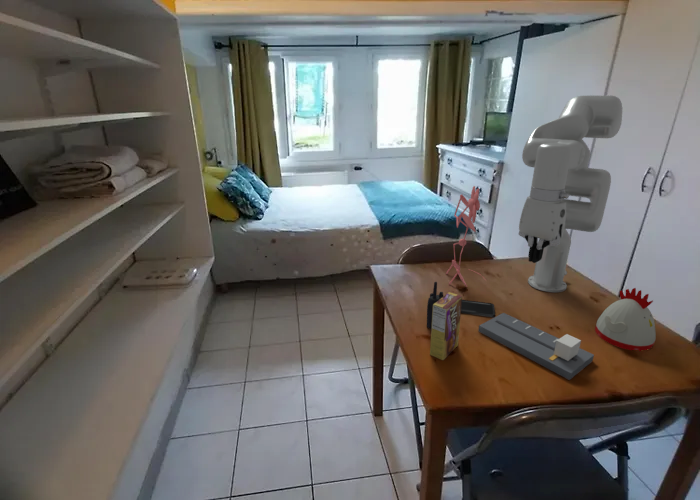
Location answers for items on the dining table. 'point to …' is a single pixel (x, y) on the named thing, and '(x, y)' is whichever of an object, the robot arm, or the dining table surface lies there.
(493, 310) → the phone
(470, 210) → the figurine
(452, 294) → the candy box
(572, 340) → the fader cap
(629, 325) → the kitchen timer
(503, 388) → the dining table surface
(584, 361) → the fader console
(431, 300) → the two-way radio
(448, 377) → the dining table surface
